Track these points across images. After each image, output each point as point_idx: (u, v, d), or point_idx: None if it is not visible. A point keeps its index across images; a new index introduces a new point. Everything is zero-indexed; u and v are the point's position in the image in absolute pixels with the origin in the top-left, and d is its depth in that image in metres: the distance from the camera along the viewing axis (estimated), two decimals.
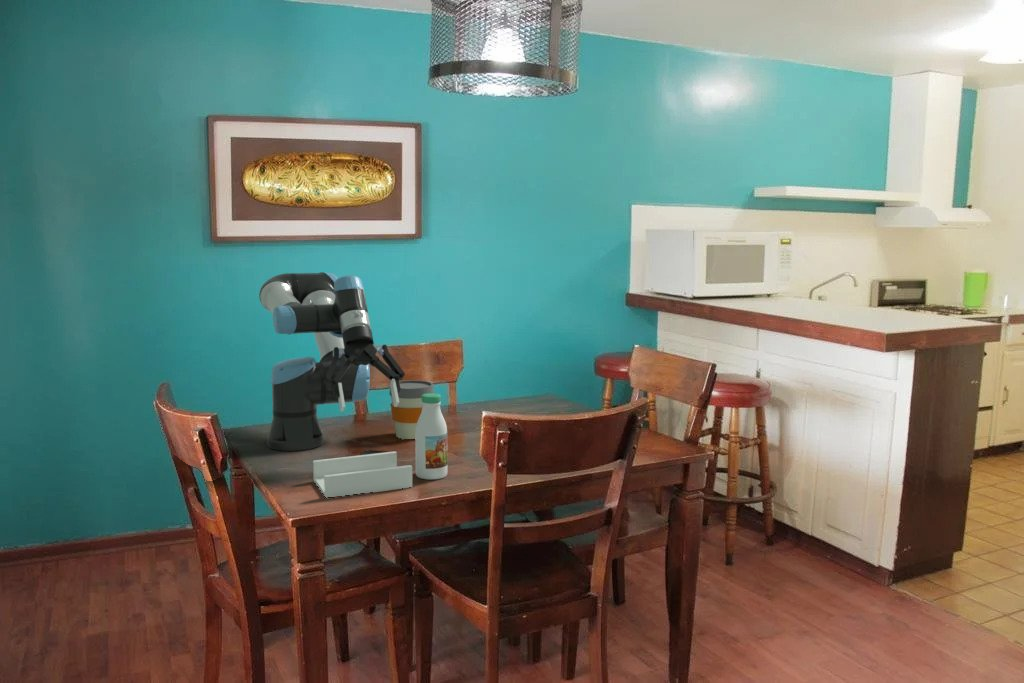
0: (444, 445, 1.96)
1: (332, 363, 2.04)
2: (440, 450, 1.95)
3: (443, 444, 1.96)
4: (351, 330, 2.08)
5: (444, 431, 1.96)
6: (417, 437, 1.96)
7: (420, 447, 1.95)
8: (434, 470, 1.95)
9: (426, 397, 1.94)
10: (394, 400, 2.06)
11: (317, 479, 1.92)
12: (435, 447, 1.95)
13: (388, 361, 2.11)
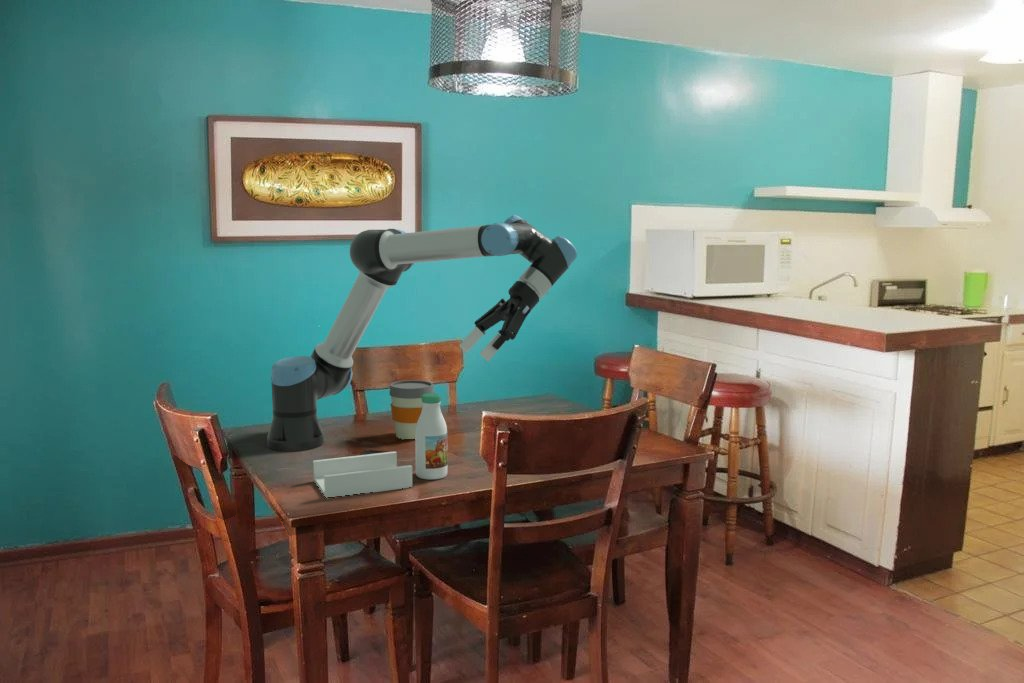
0: (444, 445, 1.96)
1: None
2: (440, 450, 1.95)
3: (443, 444, 1.96)
4: (537, 302, 2.02)
5: (444, 431, 1.96)
6: (417, 437, 1.96)
7: (420, 447, 1.95)
8: (435, 470, 1.95)
9: (426, 397, 1.94)
10: (466, 346, 2.05)
11: (317, 479, 1.92)
12: (435, 447, 1.95)
13: None
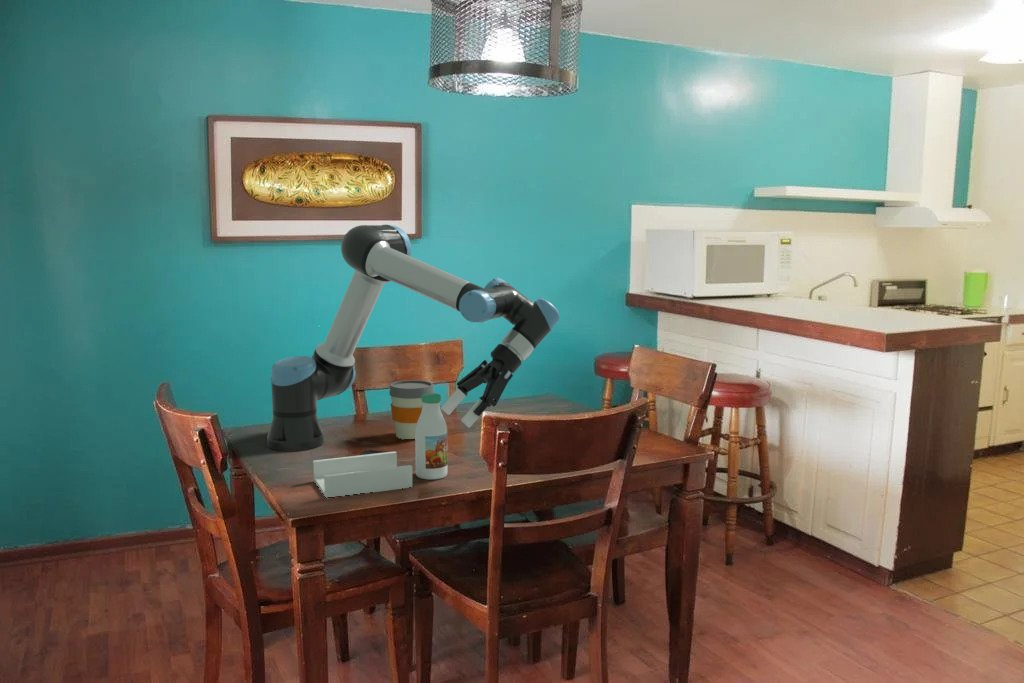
0: (444, 445, 1.96)
1: None
2: (440, 450, 1.95)
3: (443, 444, 1.96)
4: (519, 365, 2.02)
5: (444, 431, 1.96)
6: (417, 437, 1.96)
7: (420, 447, 1.95)
8: (434, 470, 1.95)
9: (426, 397, 1.94)
10: (448, 408, 2.05)
11: (317, 479, 1.92)
12: (435, 447, 1.95)
13: None
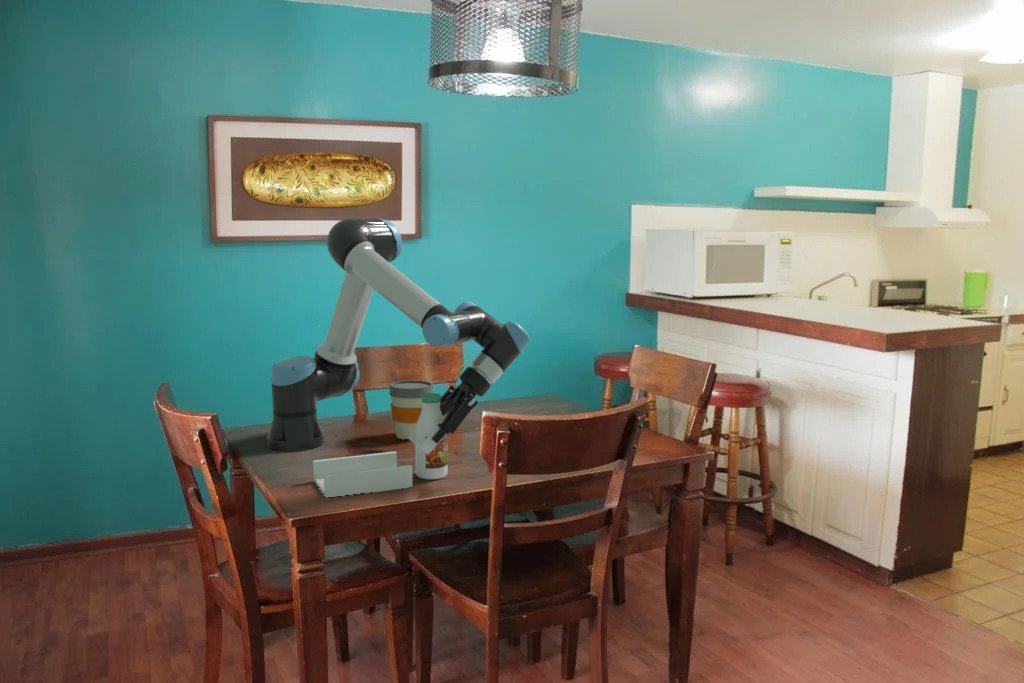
0: (444, 445, 1.96)
1: None
2: (440, 450, 1.95)
3: (443, 444, 1.96)
4: (488, 389, 2.00)
5: None
6: (417, 437, 1.96)
7: None
8: (435, 470, 1.95)
9: (426, 397, 1.94)
10: None
11: (317, 479, 1.92)
12: (435, 447, 1.95)
13: None
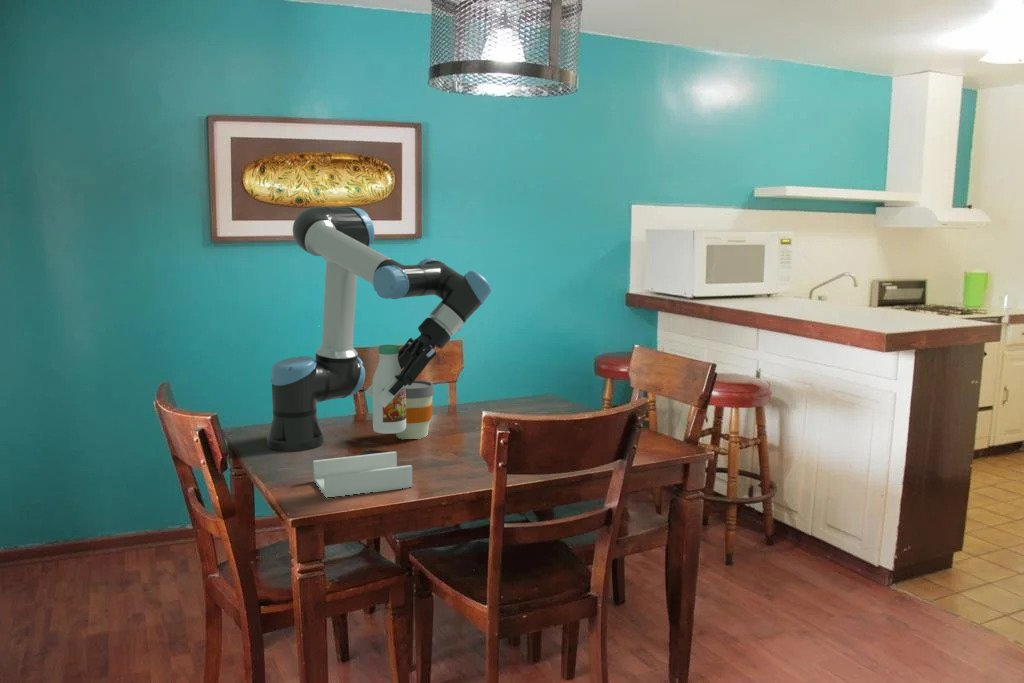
0: (402, 398, 1.89)
1: None
2: (398, 403, 1.88)
3: (401, 397, 1.89)
4: (448, 340, 1.93)
5: None
6: (374, 390, 1.88)
7: None
8: (392, 423, 1.88)
9: (383, 348, 1.87)
10: None
11: (317, 479, 1.92)
12: (392, 400, 1.87)
13: None
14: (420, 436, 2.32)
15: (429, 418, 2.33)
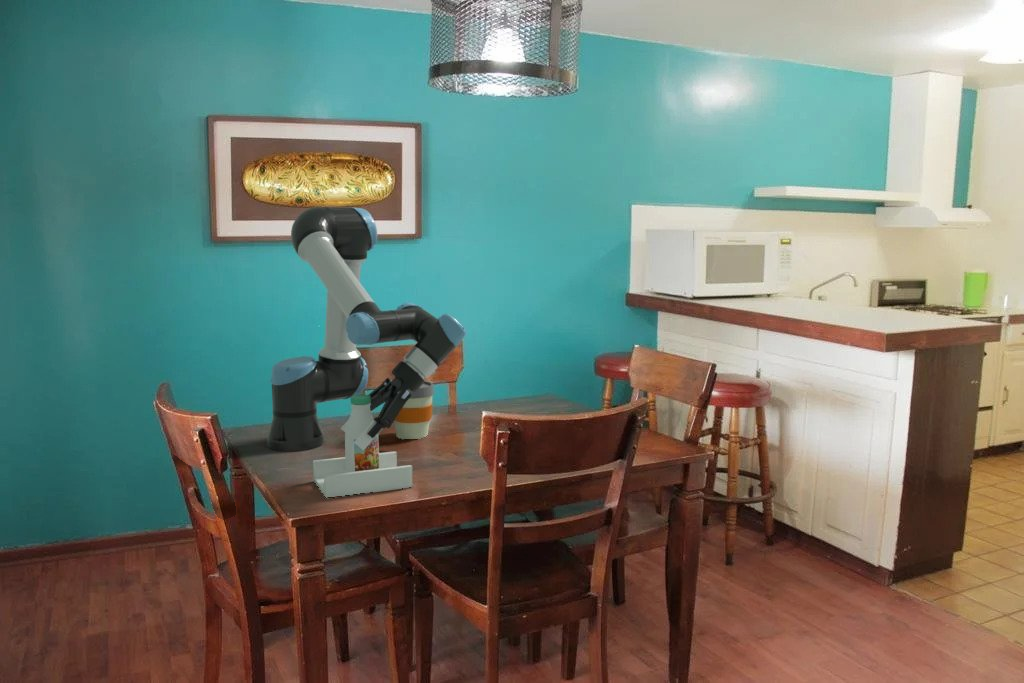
0: (374, 448, 1.89)
1: None
2: (370, 454, 1.88)
3: (373, 447, 1.89)
4: (421, 384, 1.93)
5: None
6: (346, 440, 1.89)
7: (349, 450, 1.88)
8: None
9: (355, 399, 1.87)
10: None
11: (317, 479, 1.92)
12: (364, 450, 1.87)
13: None
14: (420, 436, 2.32)
15: (429, 418, 2.33)
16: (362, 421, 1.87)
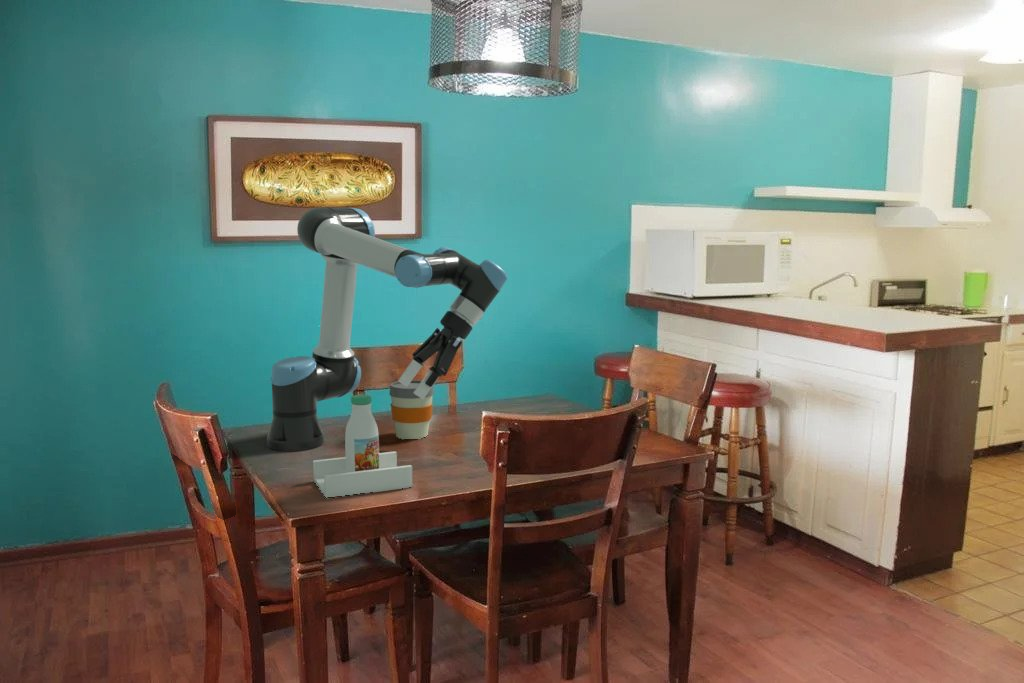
0: (375, 448, 1.89)
1: None
2: (370, 454, 1.88)
3: (373, 447, 1.89)
4: (470, 331, 1.99)
5: (374, 434, 1.89)
6: (346, 440, 1.89)
7: (349, 450, 1.88)
8: None
9: (355, 398, 1.87)
10: (405, 380, 2.03)
11: (317, 479, 1.92)
12: (364, 450, 1.88)
13: None
14: (420, 436, 2.32)
15: (429, 418, 2.33)
16: (362, 421, 1.87)
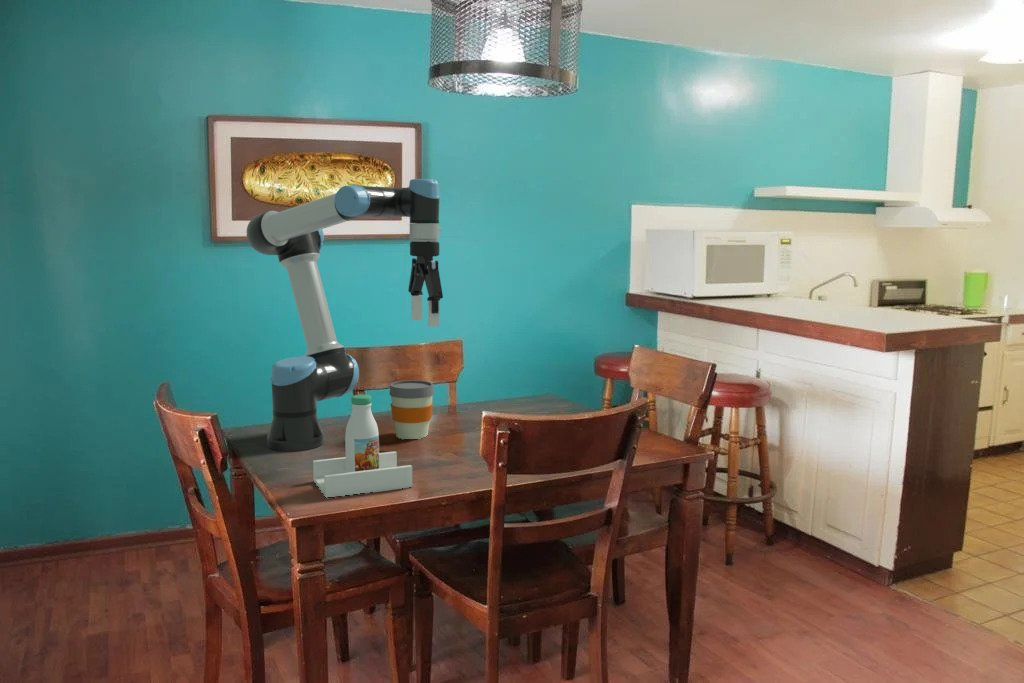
0: (375, 448, 1.89)
1: None
2: (370, 454, 1.88)
3: (373, 447, 1.89)
4: (438, 245, 2.10)
5: (374, 434, 1.89)
6: (346, 440, 1.89)
7: (349, 450, 1.88)
8: None
9: (355, 398, 1.87)
10: (417, 315, 2.19)
11: (317, 479, 1.92)
12: (365, 450, 1.88)
13: None
14: (420, 436, 2.32)
15: (429, 418, 2.33)
16: (363, 421, 1.88)
